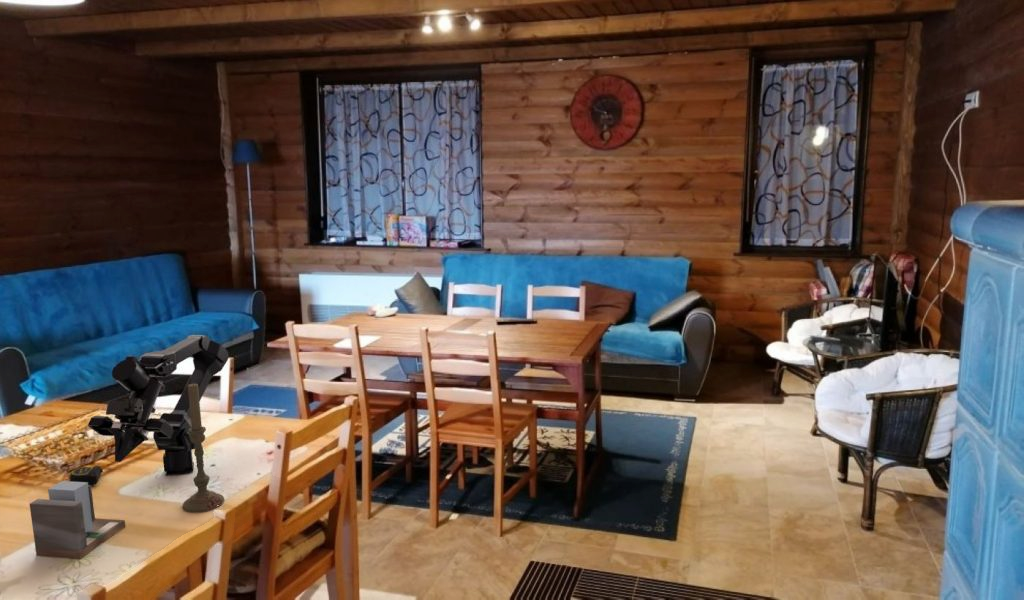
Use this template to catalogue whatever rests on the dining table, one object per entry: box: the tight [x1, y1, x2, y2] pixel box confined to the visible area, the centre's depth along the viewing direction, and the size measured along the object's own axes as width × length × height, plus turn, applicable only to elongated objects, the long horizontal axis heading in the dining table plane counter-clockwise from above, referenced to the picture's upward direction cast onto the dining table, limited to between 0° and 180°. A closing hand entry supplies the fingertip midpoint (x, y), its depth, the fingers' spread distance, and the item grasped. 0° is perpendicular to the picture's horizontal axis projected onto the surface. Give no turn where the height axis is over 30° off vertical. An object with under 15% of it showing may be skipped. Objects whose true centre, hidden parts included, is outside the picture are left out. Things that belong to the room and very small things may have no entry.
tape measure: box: [68, 465, 104, 486], centre depth 186 cm, size 7×7×4 cm
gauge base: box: [29, 498, 126, 560], centre depth 156 cm, size 14×10×12 cm
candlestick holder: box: [182, 382, 225, 513], centre depth 172 cm, size 9×9×30 cm
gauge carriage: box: [47, 480, 99, 535], centre depth 155 cm, size 5×9×11 cm, turn 82°
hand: (117, 461), depth 169 cm, fingers closed
